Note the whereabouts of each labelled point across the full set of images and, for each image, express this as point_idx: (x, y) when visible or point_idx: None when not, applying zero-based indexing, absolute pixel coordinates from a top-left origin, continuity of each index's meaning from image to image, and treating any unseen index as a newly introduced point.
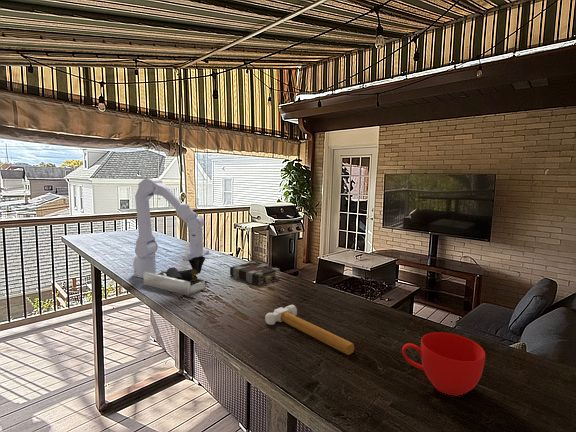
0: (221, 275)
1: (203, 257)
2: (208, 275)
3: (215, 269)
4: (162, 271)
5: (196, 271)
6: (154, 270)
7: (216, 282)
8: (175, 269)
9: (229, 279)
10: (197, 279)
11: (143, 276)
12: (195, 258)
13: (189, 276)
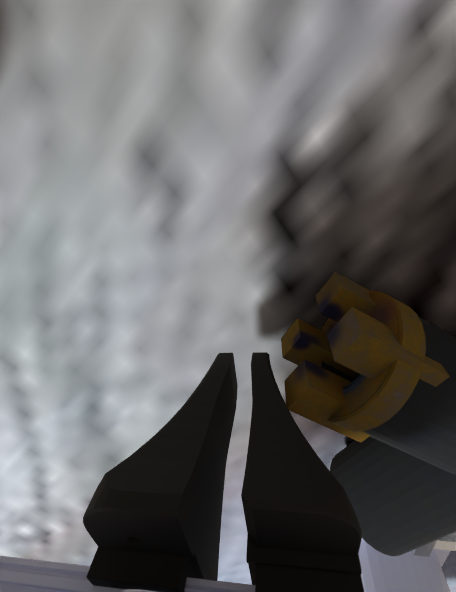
0: (45, 221)
1: (118, 528)
2: (139, 313)
3: (16, 366)
4: (431, 547)
5: (372, 337)
6: (387, 574)
7: (229, 62)
8: (418, 516)
9: (34, 9)
10: (338, 276)
11: (437, 558)
12: (293, 583)
13: (442, 336)
